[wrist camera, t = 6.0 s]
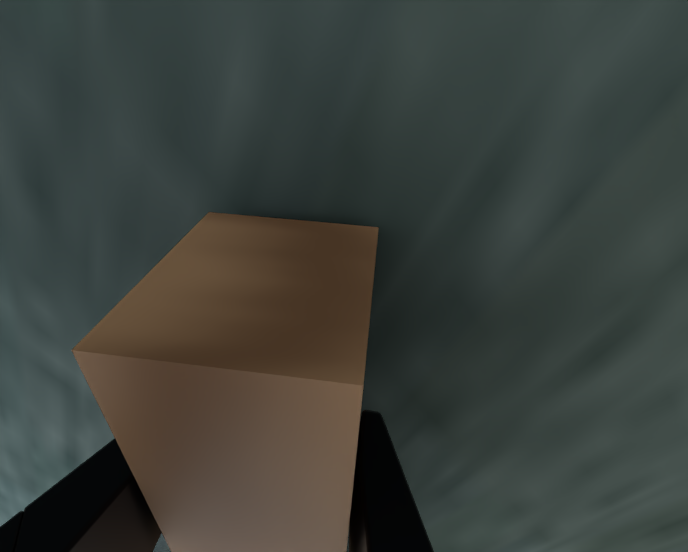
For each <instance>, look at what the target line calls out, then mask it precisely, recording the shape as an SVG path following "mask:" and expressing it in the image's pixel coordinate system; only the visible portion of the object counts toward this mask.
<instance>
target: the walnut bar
mask: <svg viewBox="0 0 688 552" xmlns="http://www.w3.org/2000/svg"><path fill="white" fill-rule="evenodd" d="M378 229H379V227H370V226H359V225H347V224H336V223H325V222H314V221H303V220H292V219H281V218H269V217H258V216H247V215H236V214H225V213H214V212H208V213H207V214H206V215H205V216H204V217H203V218H202V219H201V220H200V221H199V222H198V223H197V224H196V225H195V226H194V227H193V228H192V229H191V230H190V231H189V232H188V233H187V234H186V235H185V236H184V237H183V238H182V240H181V241H180V242H179V243H178V244H177V245H176V246H175V247H174V248H173V249H172V250H171V251H170V252H169V253H168V254H167V255H166V256H165V257H164V258H163V259H162V260H161V261H160V262H159V263H158V264H157V265H156V266H155V267H154V268H153V269H152V270H151V271H150V272H149V273H148V274H147V275H146V276H145V277H144V278H143V279H142V280H141V281H140V282H139V283H138V284H137V285H136V286H135V287H134V288H133V289H132V290H131V291H130V292H129V293H128V294H127V295H126V296H125V297H124V298H123V299H122V300H121V301H120V302H119V303H118V304H117V305H116V306H115V307H114V308H113V309H112V310H111V311H110V312H109V313H108V314H107V315H106V316H105V317H104V318H103V319H102V320H101V321H100V322H99V323H98V324H97V325H96V326H95V327H94V328H93V329H92V330H91V331H90V332H89V333H88V334H87V335H86V336H85V337H84V338H83V339H82V340H81V341H80V342H79V343H78V344H77V345H76V346H75V347H74V348H73V349H72V352H73V354H74V356H75V358H76V360H77V362H78V364H79V366H80V368H81V370H82V372H83V375H84V377H85V379H86V381H87V383H88V385H89V387H90V389H91V391H92V393H93V395H94V397H95V399H96V401H97V403H98V405H99V407H100V409H101V411H102V413H103V415H104V417H105V419H106V421H107V423H108V425H109V427H110V429H111V431H112V433H113V435H114V437H115V439H116V441H117V443H118V445H119V447H120V449H121V451H122V453H123V455H124V457H125V459H126V461H127V463H128V465H129V467H130V469H131V471H132V473H133V475H134V477H135V479H136V481H137V483H138V486H139V488H140V490H141V492H142V494H143V496H144V498H145V500H146V502H147V504H148V506H149V508H150V510H151V512H152V514H153V516H154V518H155V520H156V522H157V524H158V526H159V528H160V530H161V532H162V534H163V536H164V538H165V540H166V542H167V544H168V546H169V548H170V550H171V552H346V550H347V540H348V531H349V521H350V511H351V502H352V492H353V482H354V473H355V463H356V453H357V444H358V434H359V424H360V415H361V405H362V395H363V386H364V375H365V365H366V354H367V344H368V333H369V323H370V312H371V302H372V291H373V281H374V270H375V260H376V250H377V239H378Z"/></svg>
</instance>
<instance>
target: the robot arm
mask: <svg viewBox="0 0 688 552" xmlns="http://www.w3.org/2000/svg"><path fill="white" fill-rule="evenodd" d="M161 533H162V532H161V530H160V528H159V526H158V524H157V522H156V520H155V518H154V516H153V514H152V512H151V510H150V508H149V506H148V504H147V502H146V500H145V498H144V496H143V494H142V492H141V490H140V488H139V486H138V483H137V481H136V479H135V477H134V475H133V473H132V471H131V469H130V467H129V465H128V463H127V461H126V459H125V457H124V455H123V453H122V451H121V449H120V447H119V445H118V443H117V441H116V439H113V440H112V441H111V442H109V443H108V444H107V445H106V446H104V447H103V448H102V449H100V450H99V451H98V452H96V453H95V454H94V455H93V456H91V457H90V458H89V459H87V460H86V461H85V462H84V463H82V464H81V465H80V466H78V467H77V468H76V469H75V470H73V471H72V472H71V473H69V474H68V475H67V476H66V477H64V478H63V479H62V480H60V481H59V482H58V483H56V484H55V485H54V486H53V487H51V488H50V489H49V490H47V491H46V492H45V493H44V494H42V495H41V496H40V497H38V498H37V499H36V500H35V501H33V502H32V503H31V504H29V505H28V506H27V507H26V508H25V509H24V512H23V511H20V512H19V513H17V514H16V515H15V516H14V517H12V518H11V519H10V520H8V521H7V522H6V523H5V524H3V525H2V526H1V527H0V552H153V550H154V547H155V545H156V543H157V541H158V539H159V537H160V535H161ZM349 552H434V551H433V548H432V545H431V543H430V540H429V538H428V535H427V532H426V530H425V527H424V525H423V522H422V519H421V517H420V514H419V511H418V509H417V506H416V504H415V501H414V498H413V496H412V493H411V490H410V488H409V485H408V483H407V480H406V477H405V475H404V472H403V470H402V467H401V464H400V462H399V459H398V456H397V454H396V451H395V449H394V446H393V443H392V441H391V438H390V436H389V433H388V430H387V428H386V425H385V422H384V420H383V417H382V415H381V414H380V413H379V412H376V411H370V410H364V411H363V412H362V415H361V420H360V426H359V434H358V444H357V453H356V463H355V473H354V482H353V492H352V502H351V511H350V521H349Z"/></svg>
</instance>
